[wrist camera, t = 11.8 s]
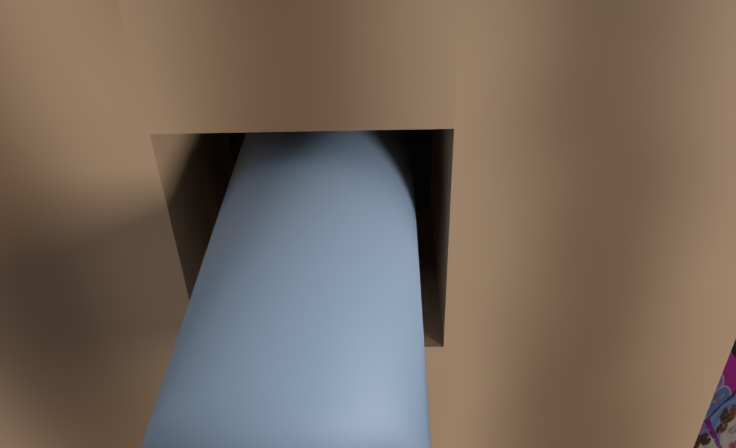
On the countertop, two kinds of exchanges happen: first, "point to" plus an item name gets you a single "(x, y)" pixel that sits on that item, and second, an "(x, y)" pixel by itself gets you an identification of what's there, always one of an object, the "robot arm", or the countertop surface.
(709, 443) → the candy bar box
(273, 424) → the peg
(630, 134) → the socket block
